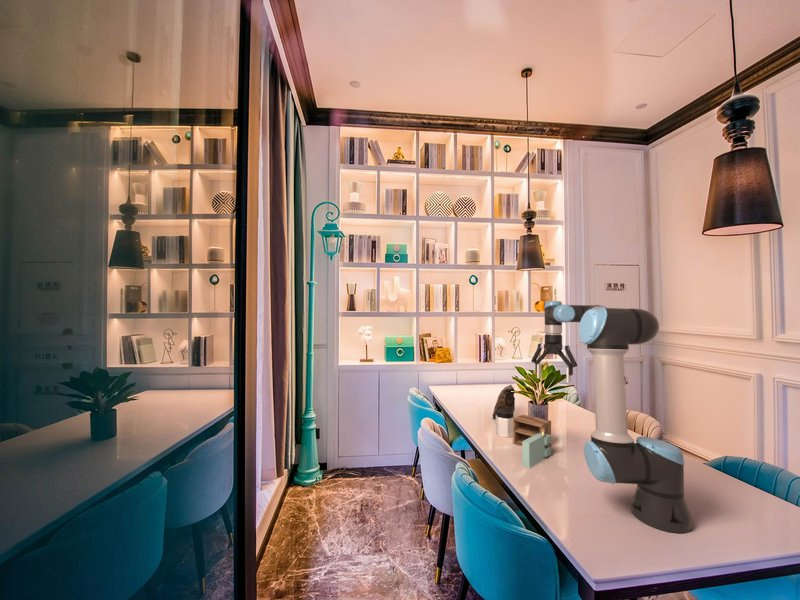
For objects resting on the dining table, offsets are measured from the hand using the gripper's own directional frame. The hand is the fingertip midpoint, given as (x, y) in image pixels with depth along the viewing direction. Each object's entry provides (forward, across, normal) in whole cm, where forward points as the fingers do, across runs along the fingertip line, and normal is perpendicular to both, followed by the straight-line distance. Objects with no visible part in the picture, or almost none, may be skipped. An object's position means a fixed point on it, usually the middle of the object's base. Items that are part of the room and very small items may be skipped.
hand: (553, 380), depth 162 cm
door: (+32, 0, +18) cm, 36 cm away
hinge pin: (+32, 0, +11) cm, 34 cm away
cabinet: (+32, +9, +3) cm, 33 cm away
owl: (+32, +38, -22) cm, 54 cm away
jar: (+32, +25, 0) cm, 41 cm away
